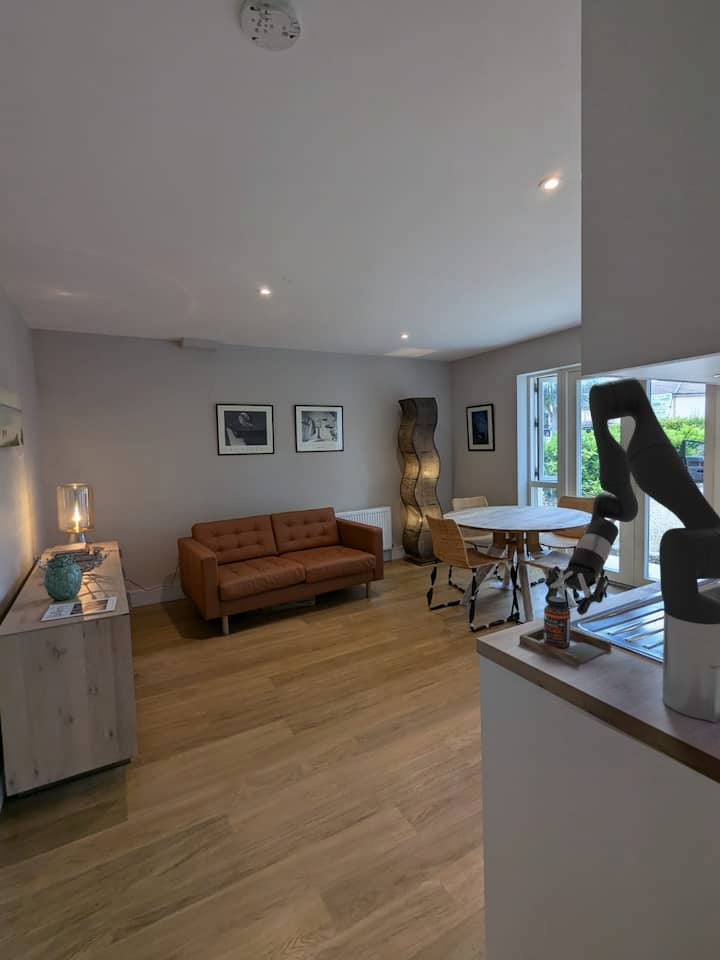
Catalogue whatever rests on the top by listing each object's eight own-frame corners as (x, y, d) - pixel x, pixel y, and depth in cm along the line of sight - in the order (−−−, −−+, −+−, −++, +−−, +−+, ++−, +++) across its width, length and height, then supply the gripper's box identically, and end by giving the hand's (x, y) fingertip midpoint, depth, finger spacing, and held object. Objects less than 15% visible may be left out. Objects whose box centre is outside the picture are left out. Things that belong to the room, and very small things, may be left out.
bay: (611, 649, 108) (611, 641, 108) (576, 666, 100) (576, 657, 100) (554, 629, 120) (554, 622, 120) (519, 643, 113) (519, 635, 113)
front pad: (606, 652, 107) (606, 650, 107) (581, 664, 101) (581, 662, 101) (582, 643, 112) (582, 641, 112) (557, 654, 106) (557, 652, 106)
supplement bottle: (542, 646, 111) (542, 600, 110) (545, 637, 116) (545, 593, 115) (569, 650, 108) (569, 604, 107) (570, 641, 113) (571, 596, 112)
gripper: (559, 542, 123) (531, 592, 117) (612, 551, 111) (584, 608, 105) (570, 558, 126) (544, 608, 121) (623, 569, 114) (597, 625, 108)
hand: (563, 608), depth 113 cm, fingers open, 8 cm apart
